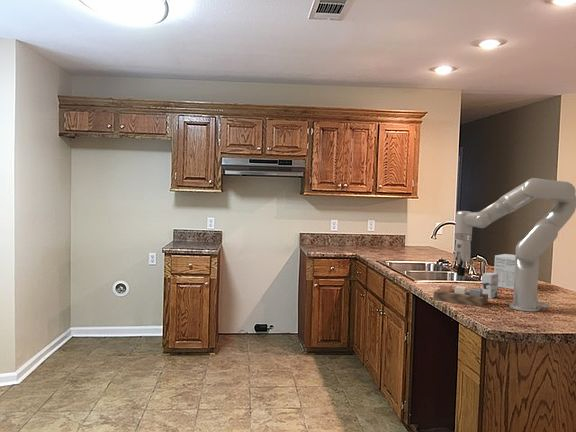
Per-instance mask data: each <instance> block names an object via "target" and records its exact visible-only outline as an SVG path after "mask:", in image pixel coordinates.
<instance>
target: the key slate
mask: <svg viewBox="0 0 576 432" xmlns="http://www.w3.org/2000/svg"><path fill="white" fill-rule="evenodd" d="M469 292H470V295H471V296H478V297H481V296H482V294H483V289H482V288H475V287H474V288H473V287H472V288H470V289H469Z"/></svg>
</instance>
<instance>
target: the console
mask: <svg viewBox="0 0 576 432" xmlns="http://www.w3.org/2000/svg"><path fill="white" fill-rule="evenodd" d="M454 291H455V288H454V289H452V292H443V291H440V288H438V289H436V290H434V291H433V298H432V299H433V301H440V302H445V303H451V304H458V305H465V306H470V305H471V306H472V307H477V306H478V307H477V308H482V307H484V306H485V305H487V304H488V303H489V298H488V294H482V296H481V297H478V296H471V295H470V291H468V290H467V294H465V295H464V294H457V293H454ZM483 305H484V306H483Z"/></svg>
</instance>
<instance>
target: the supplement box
mask: <svg viewBox="0 0 576 432" xmlns="http://www.w3.org/2000/svg"><path fill="white" fill-rule="evenodd" d="M515 257H516V254H510V253H509V254H508V253H503V254H497V255H494V269H493V273H498V288H503V289H509V290H514V276H515Z"/></svg>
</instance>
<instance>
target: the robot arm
mask: <svg viewBox="0 0 576 432" xmlns="http://www.w3.org/2000/svg"><path fill="white" fill-rule="evenodd" d="M535 199H540V200H547V201H553V202H554V203H553V205H552V207H551V208H550V209H549V210H548V211H547V213H546V214H545V215H544V216H543V217H541V219H540V220H539V221H538V222H536V223H534V226H533V228H532V229H531V230H530V231H529V232H528V233H527V234H526V236H524V237H523V239H521V240H519V241H518V242H517V244H516V245H515V255H516V257H515V276H514V289H513V296H512V297H513V300H512V302H510V303H509V304H508V306H509V308H511V309H513V310H517V311H521V312H522V311H523V312H540V311H541V308H544V309H548V307H549V306H548V303H546V302H541V301H539V299H538V285H539V284H538V282H539V266H540V257H541V256H542V254H544V253H545V251H546V250H547V249H548V248H549V247H550V246H551V245H552V244H553V243H554V242H555V241H556V239H557V238H558V236H559V232H560V231H561V230H562V228H564V227H565V225H566V224H567V223H568V222H569V220H570V219H571V218H572V217H573V215H574V214H575V211H576V186H574V184H572V183H570V182H569V181H563V180H562V181H561V180H552V179H543V178H538V177H531V178H529V179H527V180H525V182H522V184H520V185H518V186H516V187H514V188H513V189H511V190H510V191H508V192H507V193H505V194H503V195H502V196H500V197H499V199H498V200H497V199H496V201H494V202H493V203H492V204H490V205H488V206H487V207H485V208H483V209H482V210H479V211H474V212H472V211H468V210H459V211H456V215H455V225H454V240H455V248H454V261H456V265H457V266H456V276H459V277H460V276H461V277H464V276H465V273H466V263H467V262H469V261H470V260H471V242H472V240H473V238H472V237H473V236H472V235H473V228H479V229H484V228H487V227H488V226H489V225H490V224H492V223H495V222H496V221H498V220H499V219H501V218H503V217H504V216H506V215H508V214H511V213H513V212H515V211H518V209H520V208H522V207H523V206H525V205H527V204H528V203H530V202H532V201H534V200H535Z"/></svg>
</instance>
